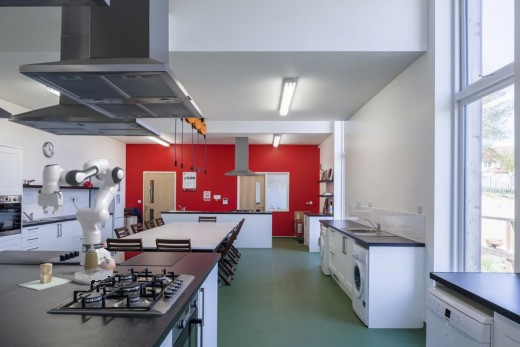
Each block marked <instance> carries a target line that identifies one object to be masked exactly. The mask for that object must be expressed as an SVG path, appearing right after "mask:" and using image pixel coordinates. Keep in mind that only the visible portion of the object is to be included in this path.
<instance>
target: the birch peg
mask: <svg viewBox="0 0 520 347" xmlns="http://www.w3.org/2000/svg"><path fill="white" fill-rule="evenodd" d="M39 266H40V269H39V271H40V272H39V273H40V274H39V280H40V283H42V284H46V283H50V282H52V277H53V263H48V262H47V263H43V264H42V263H41V264H40V265H39Z"/></svg>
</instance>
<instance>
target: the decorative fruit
mask: <svg viewBox="0 0 520 347" xmlns="http://www.w3.org/2000/svg"><path fill="white" fill-rule="evenodd" d="M99 268H103V269H109V270H113V271H114V270H115V268H116V262H115V261H113V260H110V259H108V258H107V259H105V260H103V261H102V262H101V263H100V265H99Z"/></svg>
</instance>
